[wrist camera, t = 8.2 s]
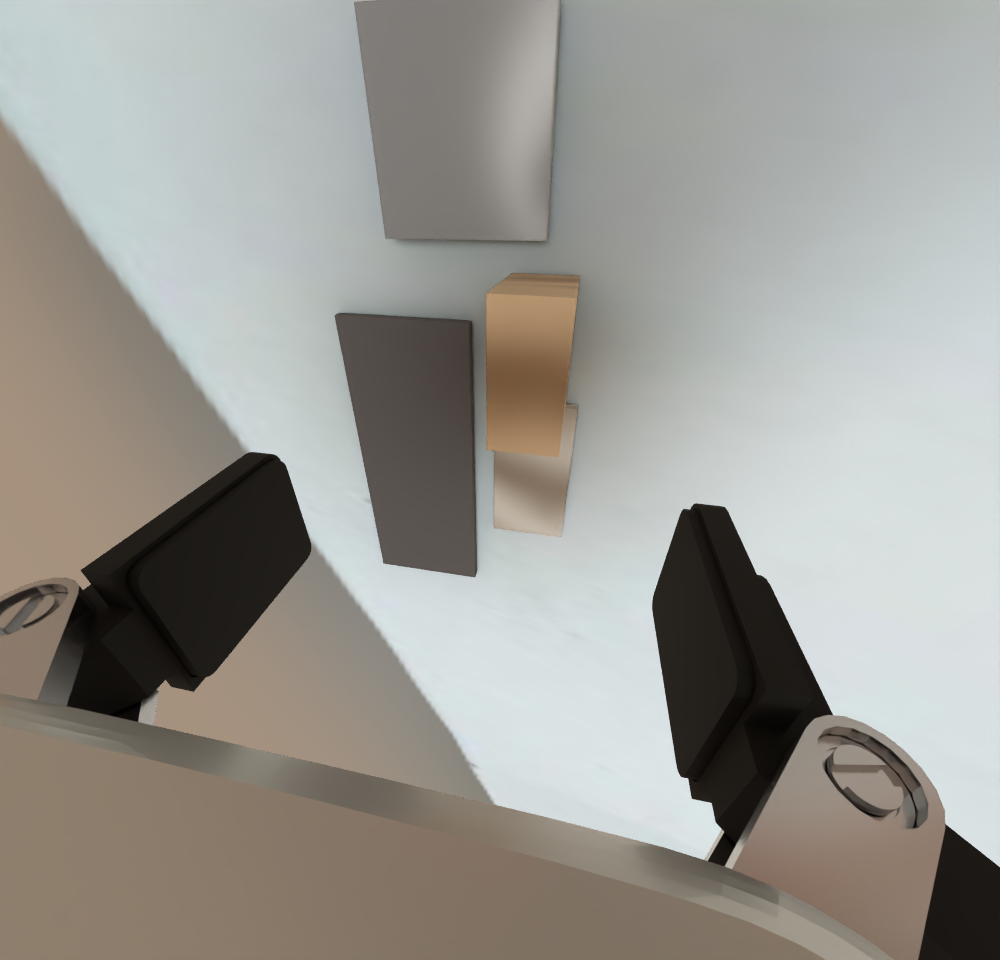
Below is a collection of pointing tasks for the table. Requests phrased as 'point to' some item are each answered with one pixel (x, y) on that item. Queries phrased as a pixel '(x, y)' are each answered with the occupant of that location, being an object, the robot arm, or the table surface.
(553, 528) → the tan stepped block piece
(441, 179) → the tile
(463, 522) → the mat
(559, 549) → the table surface
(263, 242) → the table surface
